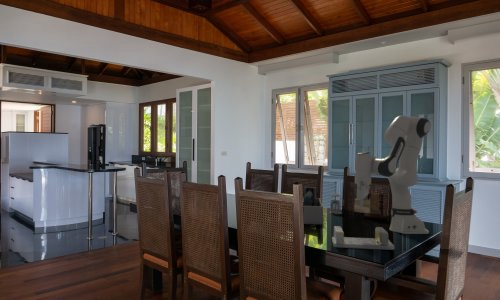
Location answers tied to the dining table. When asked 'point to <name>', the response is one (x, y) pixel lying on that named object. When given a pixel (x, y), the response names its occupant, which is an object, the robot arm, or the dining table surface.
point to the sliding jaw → (381, 235)
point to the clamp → (309, 196)
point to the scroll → (375, 206)
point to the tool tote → (313, 213)
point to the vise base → (357, 241)
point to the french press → (336, 203)
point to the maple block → (364, 208)
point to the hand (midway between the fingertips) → (362, 205)
